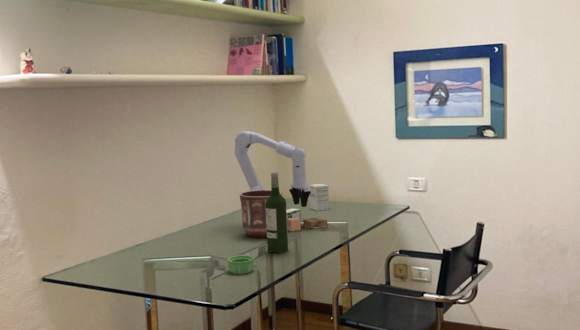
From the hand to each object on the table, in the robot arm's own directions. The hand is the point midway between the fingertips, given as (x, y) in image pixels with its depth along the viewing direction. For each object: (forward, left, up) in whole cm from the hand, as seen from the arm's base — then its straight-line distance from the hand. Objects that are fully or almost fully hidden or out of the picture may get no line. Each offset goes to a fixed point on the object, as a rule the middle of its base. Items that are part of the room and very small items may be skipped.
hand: (300, 205), depth 275 cm
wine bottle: (-26, -35, -10) cm, 44 cm away
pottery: (-21, -6, -10) cm, 23 cm away
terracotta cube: (-6, -5, -10) cm, 12 cm away
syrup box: (+4, +13, -7) cm, 15 cm away
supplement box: (+25, +32, -10) cm, 42 cm away
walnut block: (+5, -4, -10) cm, 12 cm away
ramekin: (-47, -53, -10) cm, 71 cm away
